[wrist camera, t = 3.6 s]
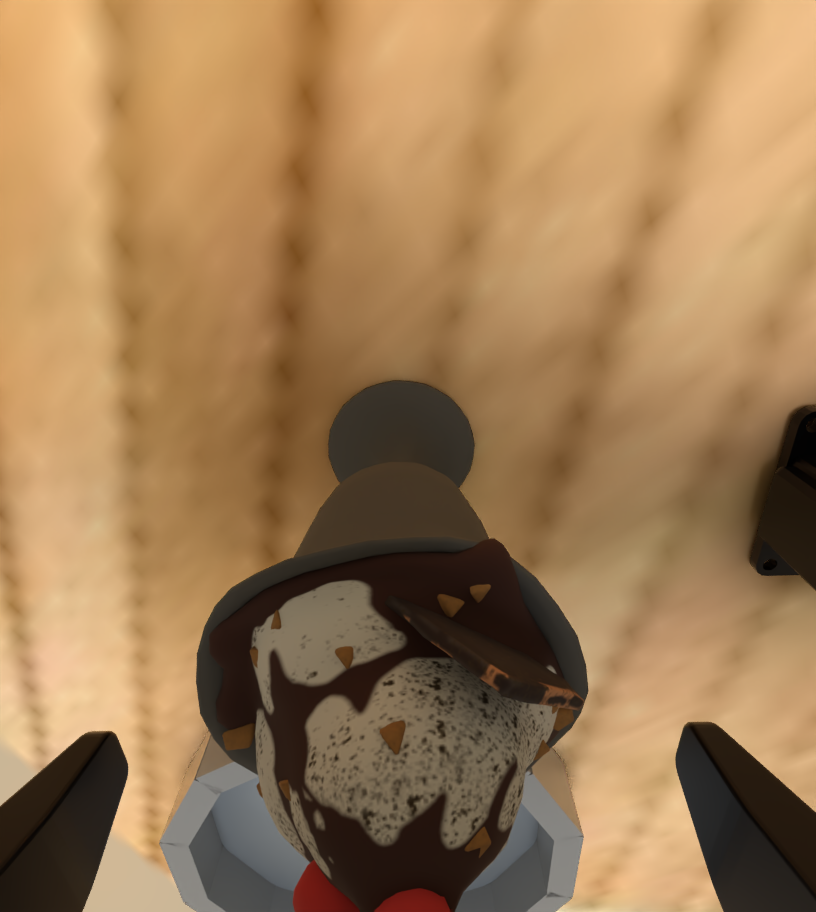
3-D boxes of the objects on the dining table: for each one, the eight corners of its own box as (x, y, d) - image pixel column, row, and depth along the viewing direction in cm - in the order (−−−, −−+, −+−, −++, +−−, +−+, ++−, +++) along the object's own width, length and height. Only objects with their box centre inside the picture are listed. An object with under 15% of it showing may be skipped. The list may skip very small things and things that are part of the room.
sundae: (342, 550, 20) (203, 1276, 7) (274, 386, 17) (-216, 1064, 4) (516, 509, 19) (762, 1243, 6) (473, 329, 16) (761, 938, 3)
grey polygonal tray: (578, 661, 22) (602, 729, 20) (545, 893, 30) (559, 967, 27) (153, 670, 23) (116, 739, 20) (230, 898, 31) (211, 970, 28)
